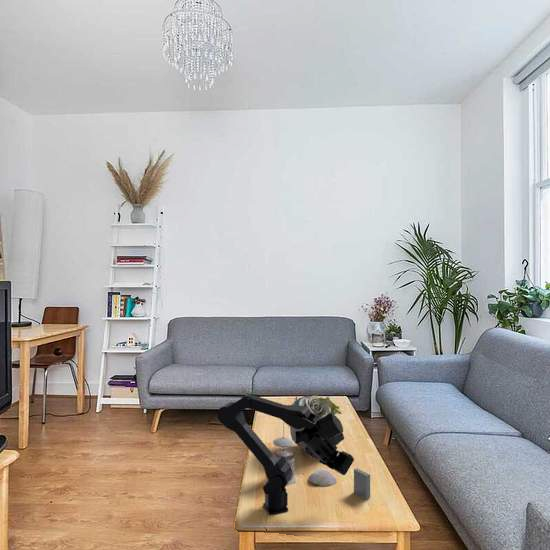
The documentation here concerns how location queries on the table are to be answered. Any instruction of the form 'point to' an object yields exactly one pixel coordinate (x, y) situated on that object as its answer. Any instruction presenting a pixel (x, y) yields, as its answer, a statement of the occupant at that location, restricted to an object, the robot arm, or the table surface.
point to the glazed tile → (362, 483)
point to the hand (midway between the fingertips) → (341, 469)
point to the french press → (285, 452)
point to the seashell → (322, 478)
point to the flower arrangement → (314, 410)
